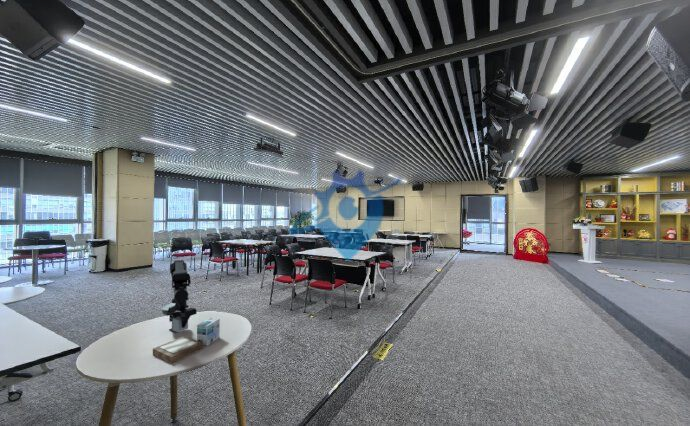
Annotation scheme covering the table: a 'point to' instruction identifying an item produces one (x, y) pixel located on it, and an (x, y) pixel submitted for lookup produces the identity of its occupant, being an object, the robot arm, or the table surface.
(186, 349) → the walnut base
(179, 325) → the grey block
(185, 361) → the table surface
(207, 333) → the light bulb box
